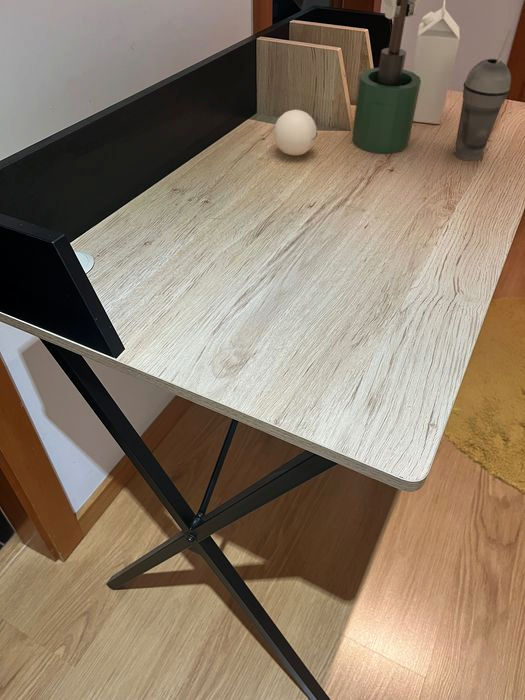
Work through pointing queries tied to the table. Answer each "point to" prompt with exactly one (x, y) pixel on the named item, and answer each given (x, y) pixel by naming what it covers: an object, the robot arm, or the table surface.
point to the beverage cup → (481, 105)
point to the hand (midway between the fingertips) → (400, 16)
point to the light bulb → (295, 132)
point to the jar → (384, 113)
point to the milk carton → (434, 63)
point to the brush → (394, 52)
